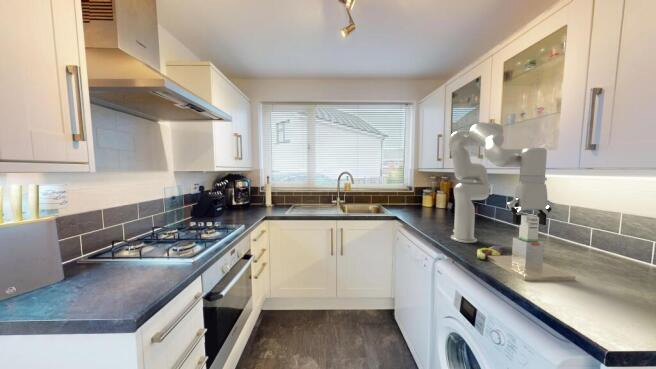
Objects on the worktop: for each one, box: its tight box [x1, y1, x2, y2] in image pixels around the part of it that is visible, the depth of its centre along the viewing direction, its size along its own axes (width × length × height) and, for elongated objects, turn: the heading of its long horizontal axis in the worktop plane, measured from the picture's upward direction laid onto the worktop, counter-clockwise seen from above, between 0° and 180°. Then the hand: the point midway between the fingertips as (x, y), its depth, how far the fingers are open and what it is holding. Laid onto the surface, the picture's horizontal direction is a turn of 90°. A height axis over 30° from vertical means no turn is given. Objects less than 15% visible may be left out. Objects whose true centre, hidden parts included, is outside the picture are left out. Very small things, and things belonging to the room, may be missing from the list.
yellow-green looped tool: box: [476, 245, 512, 260], centre depth 110 cm, size 8×3×25 cm
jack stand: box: [486, 237, 576, 282], centre depth 94 cm, size 20×18×12 cm
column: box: [518, 214, 540, 242], centre depth 93 cm, size 4×4×15 cm
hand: (529, 224), depth 93 cm, fingers open, 9 cm apart
